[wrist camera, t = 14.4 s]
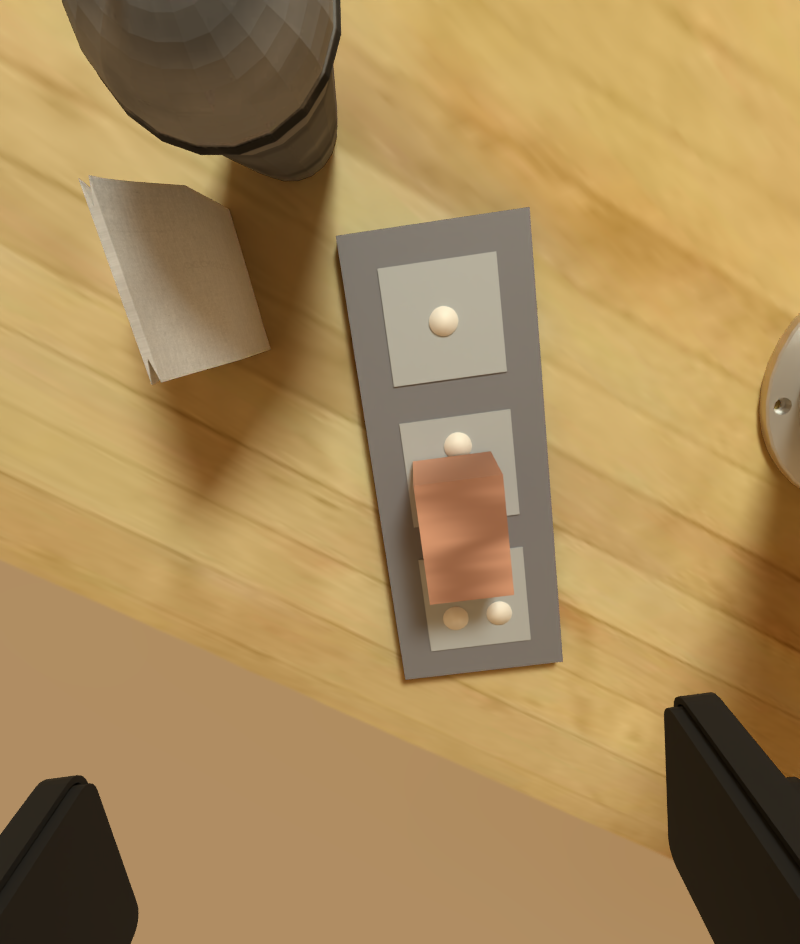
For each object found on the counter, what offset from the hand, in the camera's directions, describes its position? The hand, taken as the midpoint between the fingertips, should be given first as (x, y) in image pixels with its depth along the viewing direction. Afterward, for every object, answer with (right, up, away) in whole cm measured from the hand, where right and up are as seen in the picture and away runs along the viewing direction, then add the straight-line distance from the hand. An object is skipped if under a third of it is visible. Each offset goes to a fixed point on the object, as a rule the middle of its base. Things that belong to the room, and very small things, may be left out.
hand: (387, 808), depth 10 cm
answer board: (+3, +6, +22) cm, 23 cm away
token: (+3, +6, +19) cm, 20 cm away
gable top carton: (-9, +14, +20) cm, 26 cm away
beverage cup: (-5, +21, +18) cm, 28 cm away
